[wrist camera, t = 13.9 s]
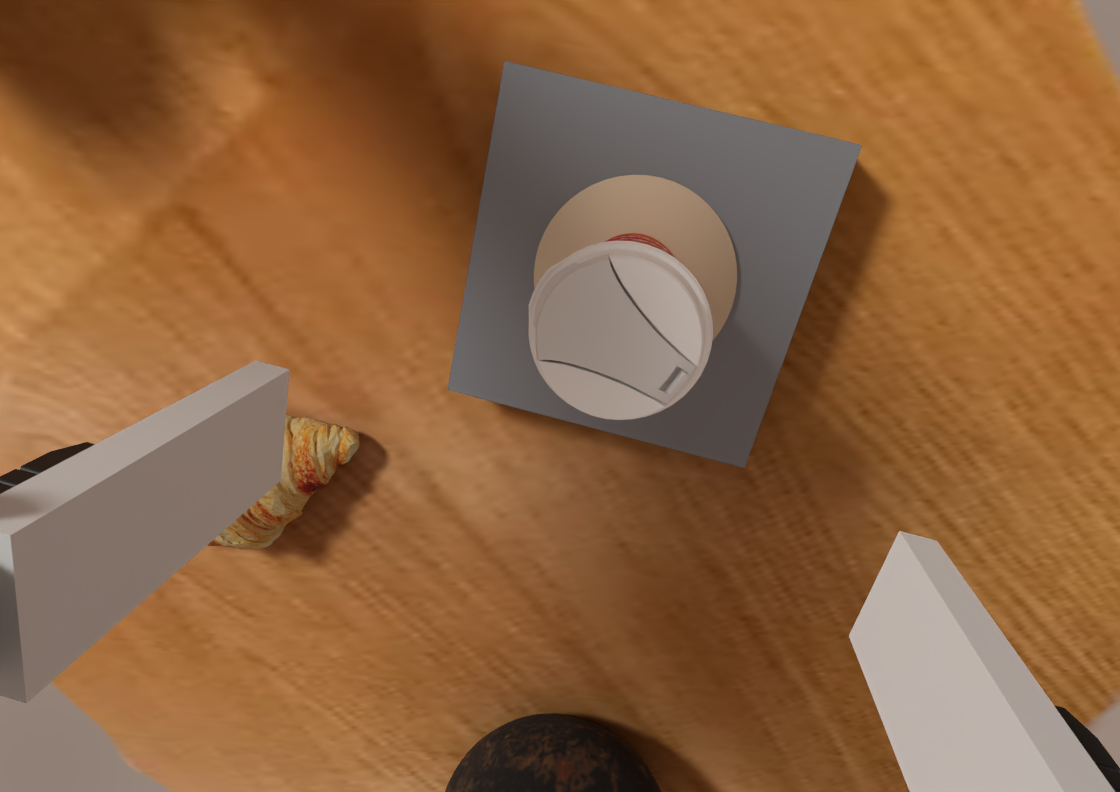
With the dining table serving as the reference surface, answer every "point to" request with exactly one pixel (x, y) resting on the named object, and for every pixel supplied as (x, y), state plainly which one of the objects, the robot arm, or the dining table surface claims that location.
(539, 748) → the glass bottle
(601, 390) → the paper cup
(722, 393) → the plinth
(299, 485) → the croissant
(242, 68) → the dining table surface
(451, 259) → the dining table surface
